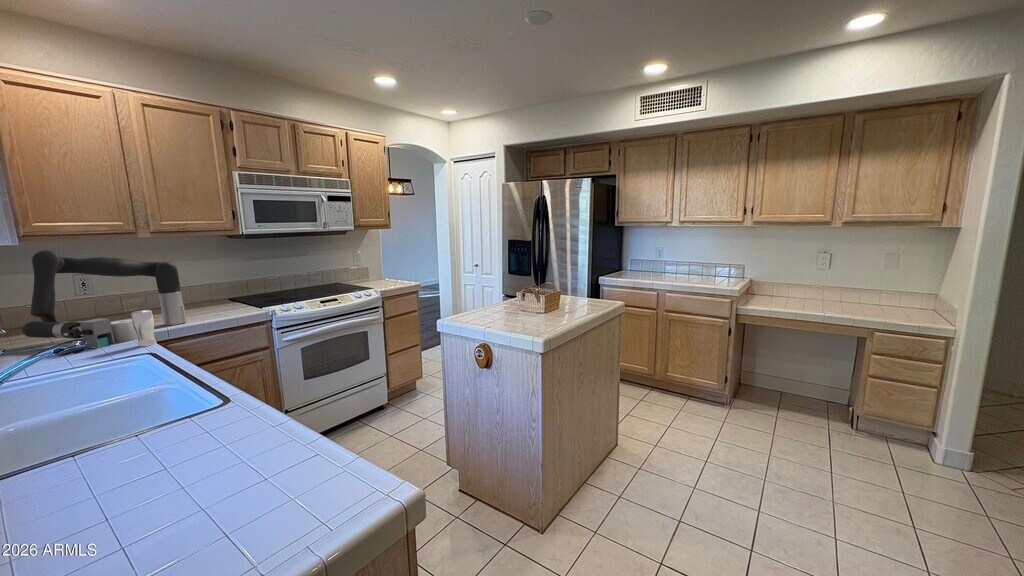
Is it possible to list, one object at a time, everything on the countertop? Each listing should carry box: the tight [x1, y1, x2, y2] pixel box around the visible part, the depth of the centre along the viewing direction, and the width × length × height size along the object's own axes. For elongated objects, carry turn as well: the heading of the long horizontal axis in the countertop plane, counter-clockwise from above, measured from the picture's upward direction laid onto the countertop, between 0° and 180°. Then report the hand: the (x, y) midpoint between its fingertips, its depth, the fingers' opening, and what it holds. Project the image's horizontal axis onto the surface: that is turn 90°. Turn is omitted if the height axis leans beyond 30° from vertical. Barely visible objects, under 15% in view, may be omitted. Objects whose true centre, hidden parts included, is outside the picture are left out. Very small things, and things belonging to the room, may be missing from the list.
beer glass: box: [131, 309, 157, 348], centre depth 180 cm, size 7×7×15 cm
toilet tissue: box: [110, 318, 138, 344], centre depth 189 cm, size 9×13×9 cm
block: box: [94, 337, 110, 349], centre depth 180 cm, size 4×4×4 cm
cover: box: [79, 318, 115, 348], centre depth 180 cm, size 7×7×11 cm
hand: (101, 330), depth 179 cm, fingers closed on cover, 6 cm apart
